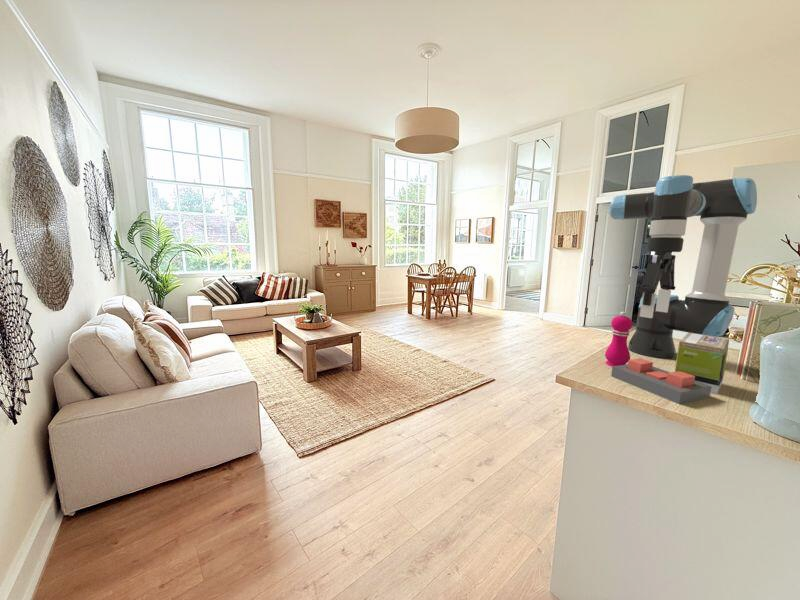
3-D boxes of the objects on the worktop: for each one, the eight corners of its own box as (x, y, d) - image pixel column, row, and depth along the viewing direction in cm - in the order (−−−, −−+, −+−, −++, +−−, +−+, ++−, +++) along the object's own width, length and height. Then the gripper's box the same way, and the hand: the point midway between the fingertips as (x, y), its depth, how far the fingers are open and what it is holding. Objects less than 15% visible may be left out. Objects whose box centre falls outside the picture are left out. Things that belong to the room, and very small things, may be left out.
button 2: (656, 382, 99) (657, 370, 98) (669, 387, 96) (671, 375, 95) (644, 384, 97) (645, 372, 97) (657, 389, 94) (659, 377, 93)
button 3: (677, 383, 94) (679, 371, 93) (693, 388, 90) (695, 376, 90) (665, 385, 92) (667, 373, 91) (680, 391, 88) (682, 378, 88)
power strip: (619, 368, 114) (621, 355, 113) (708, 401, 90) (711, 386, 89) (592, 372, 109) (594, 359, 109) (678, 408, 86) (680, 392, 85)
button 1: (638, 369, 104) (640, 358, 103) (651, 373, 100) (653, 362, 100) (626, 371, 102) (628, 359, 102) (639, 375, 99) (641, 364, 98)
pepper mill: (632, 373, 109) (640, 314, 106) (608, 371, 111) (616, 313, 108) (622, 365, 116) (630, 310, 113) (600, 363, 118) (607, 308, 114)
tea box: (680, 374, 109) (688, 331, 107) (722, 384, 102) (731, 338, 99) (671, 386, 99) (679, 339, 97) (716, 398, 92) (726, 348, 89)
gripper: (662, 238, 99) (652, 307, 102) (632, 235, 84) (621, 317, 87) (695, 238, 93) (683, 311, 97) (669, 235, 78) (656, 322, 81)
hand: (654, 314), depth 92 cm, fingers open, 13 cm apart
